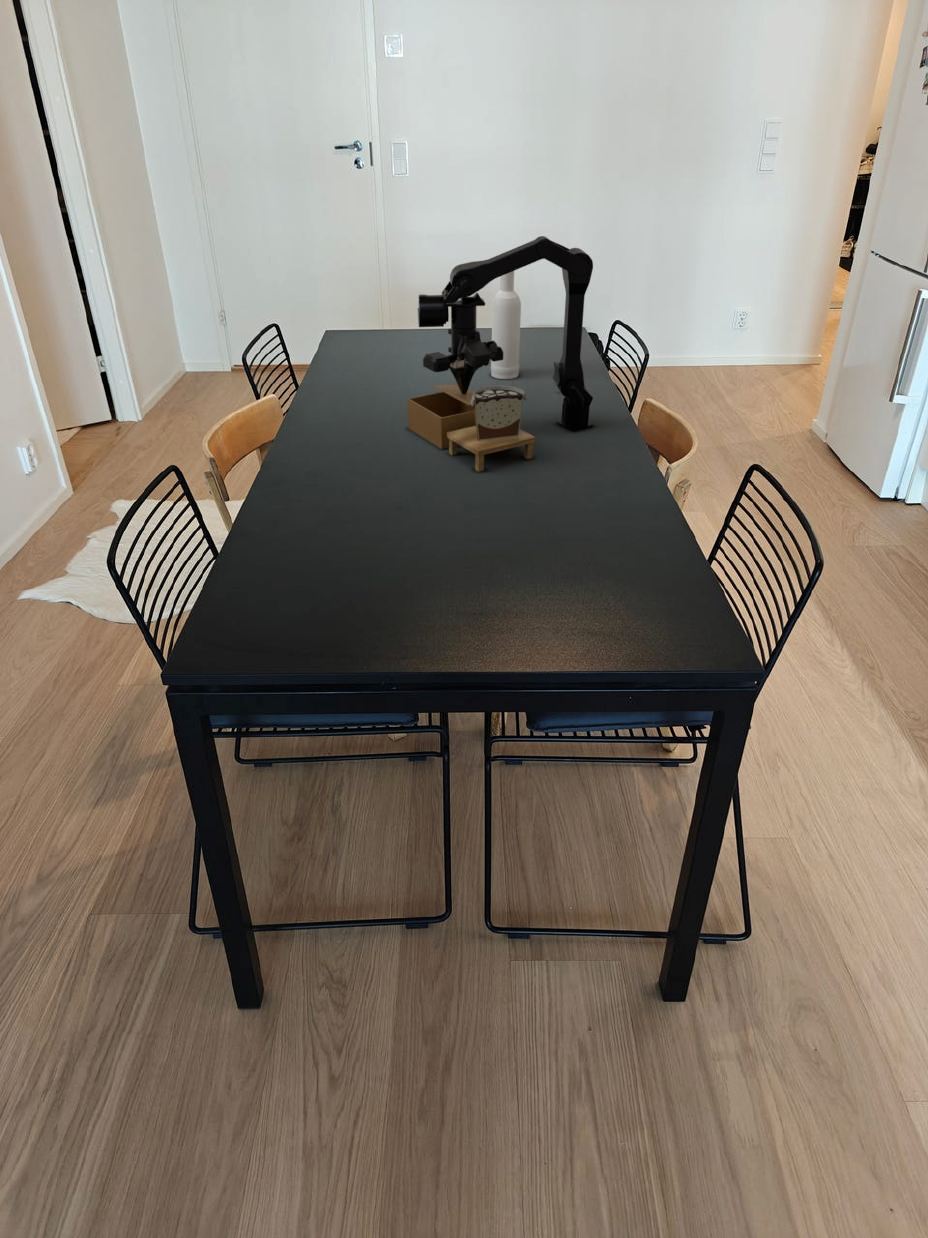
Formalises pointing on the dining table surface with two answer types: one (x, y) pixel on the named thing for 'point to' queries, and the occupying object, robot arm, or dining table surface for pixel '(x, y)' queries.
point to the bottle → (506, 328)
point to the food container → (498, 411)
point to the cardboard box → (438, 417)
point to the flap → (457, 393)
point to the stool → (487, 444)
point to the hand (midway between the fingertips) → (463, 393)
